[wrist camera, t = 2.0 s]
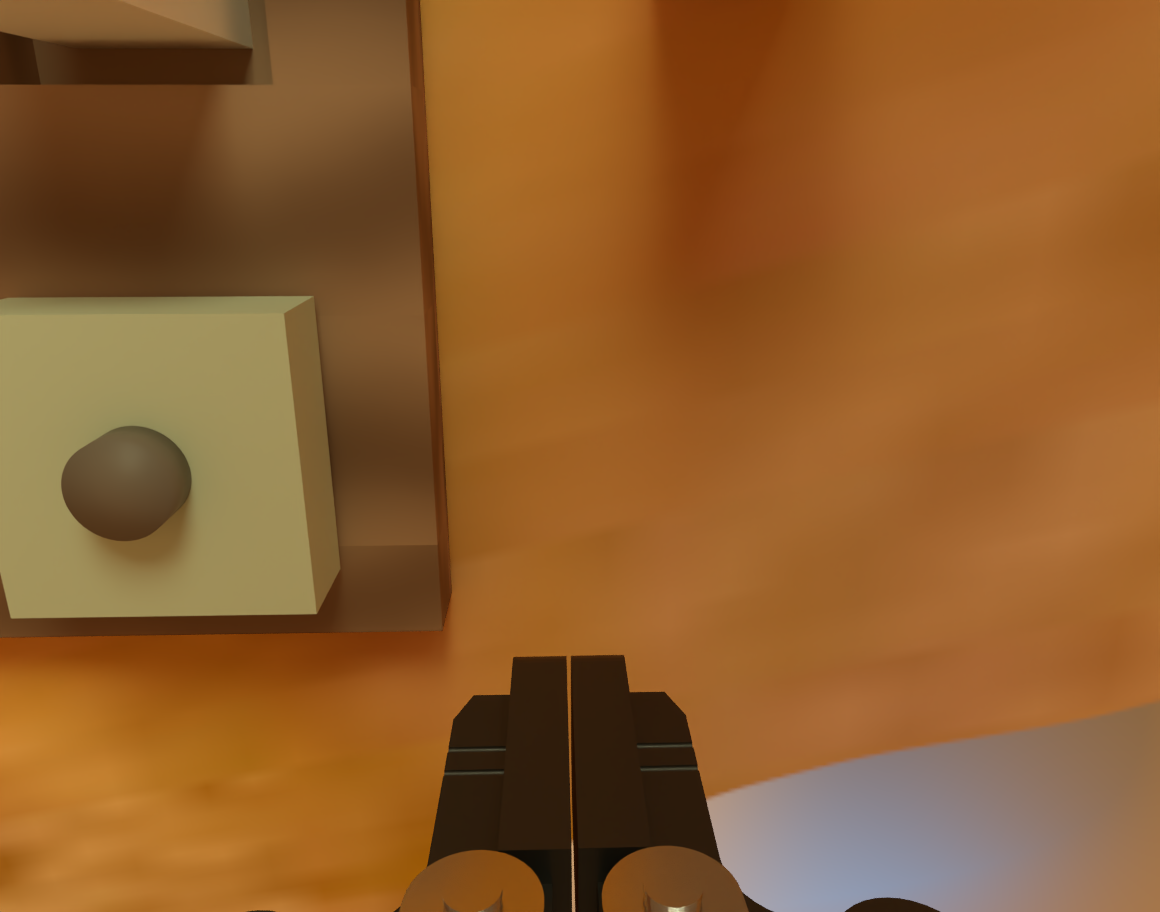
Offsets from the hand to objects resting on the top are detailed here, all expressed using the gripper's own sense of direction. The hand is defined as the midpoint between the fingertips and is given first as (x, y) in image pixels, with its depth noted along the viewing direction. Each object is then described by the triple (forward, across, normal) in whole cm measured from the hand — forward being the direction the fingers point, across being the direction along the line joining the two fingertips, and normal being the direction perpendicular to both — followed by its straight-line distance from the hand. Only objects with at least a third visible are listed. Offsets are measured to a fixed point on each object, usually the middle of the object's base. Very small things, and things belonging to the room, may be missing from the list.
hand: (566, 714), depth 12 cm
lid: (+12, +10, 0) cm, 16 cm away
